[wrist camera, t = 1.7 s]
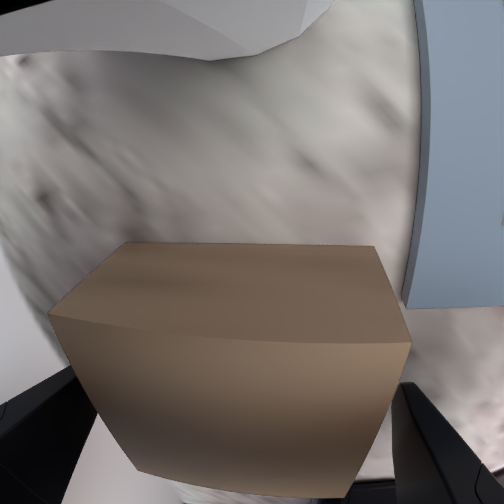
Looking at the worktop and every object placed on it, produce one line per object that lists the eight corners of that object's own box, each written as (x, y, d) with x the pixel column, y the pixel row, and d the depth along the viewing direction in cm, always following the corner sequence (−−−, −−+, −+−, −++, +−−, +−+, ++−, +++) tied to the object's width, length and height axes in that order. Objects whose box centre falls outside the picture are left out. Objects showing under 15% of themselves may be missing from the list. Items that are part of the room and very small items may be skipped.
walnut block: (343, 408, 11) (343, 497, 7) (172, 393, 12) (137, 470, 9) (372, 242, 8) (411, 342, 4) (129, 239, 9) (46, 313, 6)
